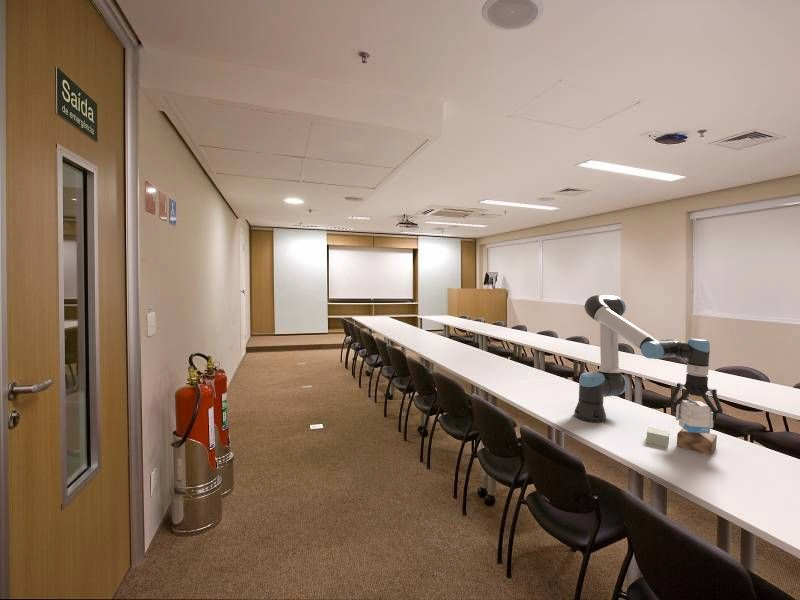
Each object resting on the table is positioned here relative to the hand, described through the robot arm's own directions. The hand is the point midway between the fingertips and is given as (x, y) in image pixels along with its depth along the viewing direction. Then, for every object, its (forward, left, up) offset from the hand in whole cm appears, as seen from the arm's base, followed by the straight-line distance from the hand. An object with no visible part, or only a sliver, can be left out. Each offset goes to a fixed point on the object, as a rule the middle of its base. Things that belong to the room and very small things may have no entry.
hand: (693, 423), depth 168 cm
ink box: (0, 0, -3) cm, 3 cm away
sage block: (-12, -7, -10) cm, 17 cm away
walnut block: (+1, 0, -11) cm, 11 cm away
